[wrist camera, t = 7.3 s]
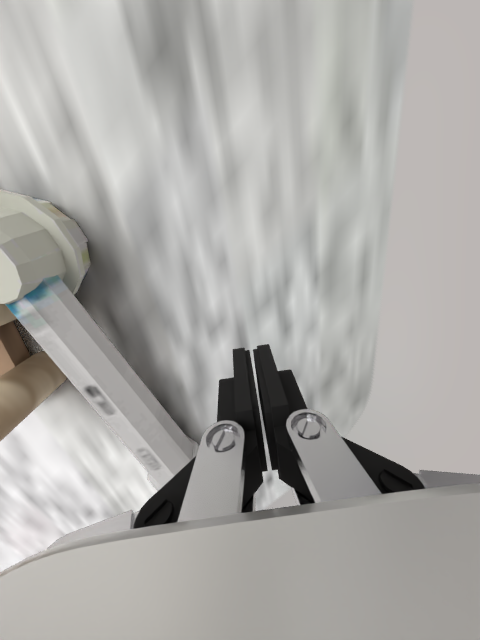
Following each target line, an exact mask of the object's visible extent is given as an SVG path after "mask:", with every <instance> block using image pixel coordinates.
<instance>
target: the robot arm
mask: <svg viewBox="0 0 480 640" xmlns="http://www.w3.org/2000/svg"><path fill="white" fill-rule="evenodd" d="M253 353H254V361H255V368H256V375H257V383H258V390H259V398H260V404H261V410H262V415H263V421H264V427H265V432H266V438H267V444H268V449H269V455H270V461H271V467H272V470H277V469H278V474H279V479H281V480H282V481H284V482H285V483H286V484H288V485H289V486H291V488H292V492H293V495H294V498H295V501H296V504H297V506H290V507H283V508H275V509H269V510H261V511H255V503H256V498H255V492H256V491H257V489H258V488H259V487H260V485H261V484H262V483H263V476H262V472H263V471H268V470H267V463H266V456H265V449H264V442H263V434H262V427H261V420H260V413H259V406H258V400H257V394H256V388H255V382H254V375H253V369H252V363H251V357H250V351H249V350H247V351H245V348H239V349H233V366H234V378H228V379H221V380H219V395H218V414H217V423H214V424H213V425H211V426H210V427H208V428H207V430H206V431H205V432H204V434H203V436H202V439H201V442H200V445H199V449H198V452H197V455H196V456H195V457H194V458H193V459H192V460H191V461H190V462H189V463H188V464H187V465H186V466H185V467H183V468H182V469H181V470H180V471H179V472H178V473H177V474H176V475H175V476H174V477H173V478H172V479H171V480H170V481H168V482H167V483H166V484H165V485H164V486H163V487H162V488H161V489H160V490H159V491H158V492H157V493H156V494H155V495H153V496H152V497H151V498H150V499H149V500H148V501H147V502H146V503H145V505H144V506H143V507H142V508H141V510H140V511H138V512H135V513H133V511H132V510H130V511H127V512H124V513H122V514H119V515H116V516H114V517H111V518H109V519H106V520H103V521H101V522H98V523H95V524H93V525H90V526H87V527H85V528H82V529H80V530H77V531H74V532H72V533H69V534H67V535H65V536H63V537H61V538H59V539H58V540H56V541H55V542H54V543H53V544H52V545H51V546H49V547H48V548H47V550H44V551H42V552H39V553H37V554H35V555H32V556H30V557H28V558H26V559H24V560H22V561H20V562H19V563H17V564H15V565H13V566H11V567H9V568H7V569H5V570H4V571H2V572H0V640H480V475H475V474H474V475H473V474H463V473H450V472H437V471H426V470H420V471H419V474H416V473H412V472H411V471H410V470H408V469H406V468H405V467H403V466H401V465H399V464H397V463H395V462H393V461H391V460H388V459H387V458H384V457H383V456H380V455H378V454H376V453H374V452H372V451H370V450H368V449H366V448H364V447H362V446H359V445H357V444H356V443H353V442H351V441H349V440H347V439H345V438H343V437H341V436H340V435H339V433H338V432H337V431H336V429H335V428H334V426H333V425H332V424H331V422H330V421H329V419H328V418H327V417H326V416H325V415H323V414H322V413H320V412H318V411H315V410H310V409H307V407H306V404H305V402H304V399H303V397H302V395H301V392H300V390H299V387H298V385H297V383H296V380H295V378H294V375H293V373H292V371H291V370H284V371H277V368H276V365H275V362H274V359H273V355H272V352H271V349H270V346H269V344H267V345H260V346H257V349H254V350H253Z"/></svg>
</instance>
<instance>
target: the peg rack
mask: <svg viewBox="0 0 480 640" xmlns="http://www.w3.org/2000/svg"><path fill="white" fill-rule="evenodd" d="M16 319H17V318H16V317H15V316H14V314H13V313H12V312H11V311H10V310H9V309H8V307H7V306H6V305H5V304H0V441H1V440H2V439H3V438H4V437H5V436H6V435H8V434H9V433H10V432H11V431H12V430H13V429H14V428H15V427H16V426H17V425H18V424H19V423H20V422H21V421H23V420H24V419H25V418H26V417H27V416H28V415H29V414H30V413H31V412H32V411H33V410H34V409H35V408H36V407H38V406H39V405H40V404H41V403H42V402H43V401H44V400H45V399H46V398H47V397H48V396H49V395H50V394H51V393H53V392H54V391H55V390H56V389H57V388H58V387H59V386H60V385H61V384H62V383H63V382H64V381H65V380H66V379H67V377H66V375H65V374H64V373H63V372H62V371H61V370H60V368H59V367H58V366H57V365H56V364H55V363H54V361H53V360H52V359H51V358H50V357H49V356H48V354H47V353H46V352H45V351H41V352H37V353H35V354H34V355H32V356H30V354H29V352H28V350H27V348H26V346H25V344H24V342H23V340H22V338H21V336H20V334H19V332H18V330H17V328H16V326H15V324H14V322H13V320H16Z"/></svg>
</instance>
